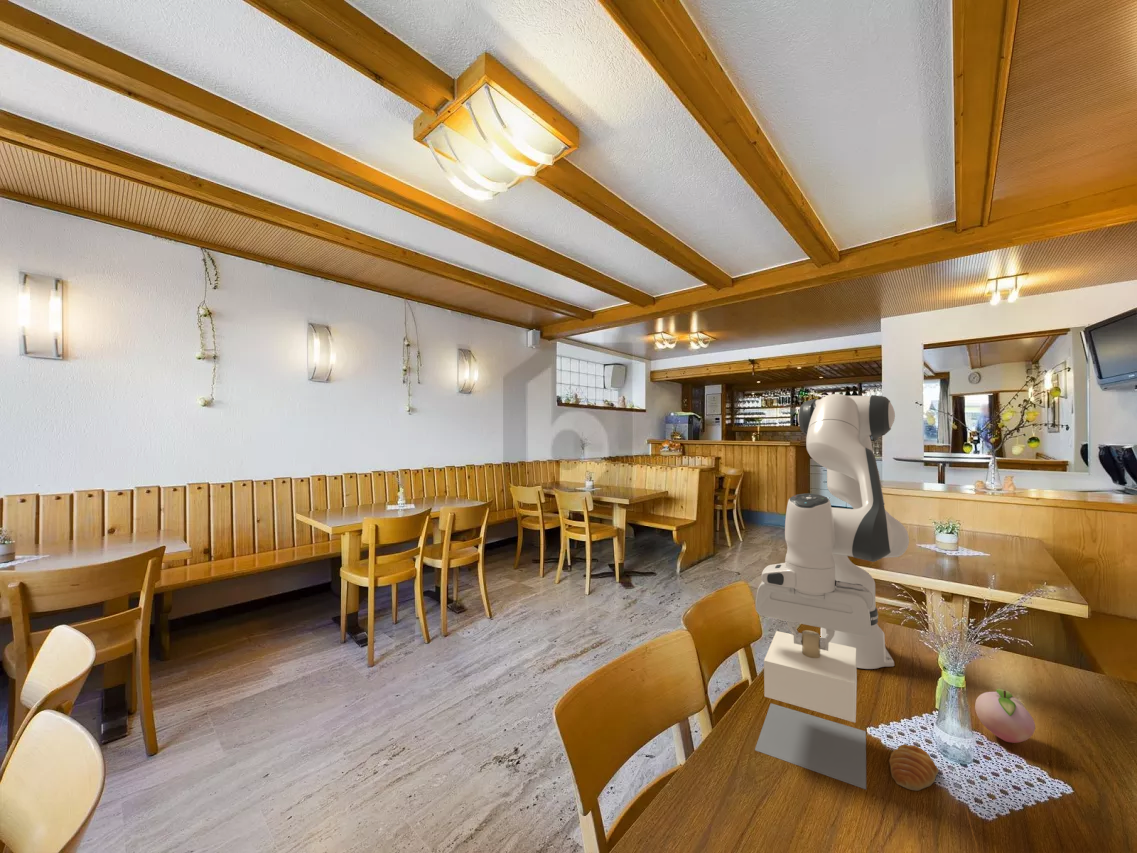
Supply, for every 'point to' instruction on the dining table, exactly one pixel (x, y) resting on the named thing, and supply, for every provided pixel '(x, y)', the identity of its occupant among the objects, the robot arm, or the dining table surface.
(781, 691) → the cover
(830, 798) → the dining table surface
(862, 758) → the mat
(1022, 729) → the decorative fruit
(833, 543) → the robot arm
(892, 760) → the pastry
